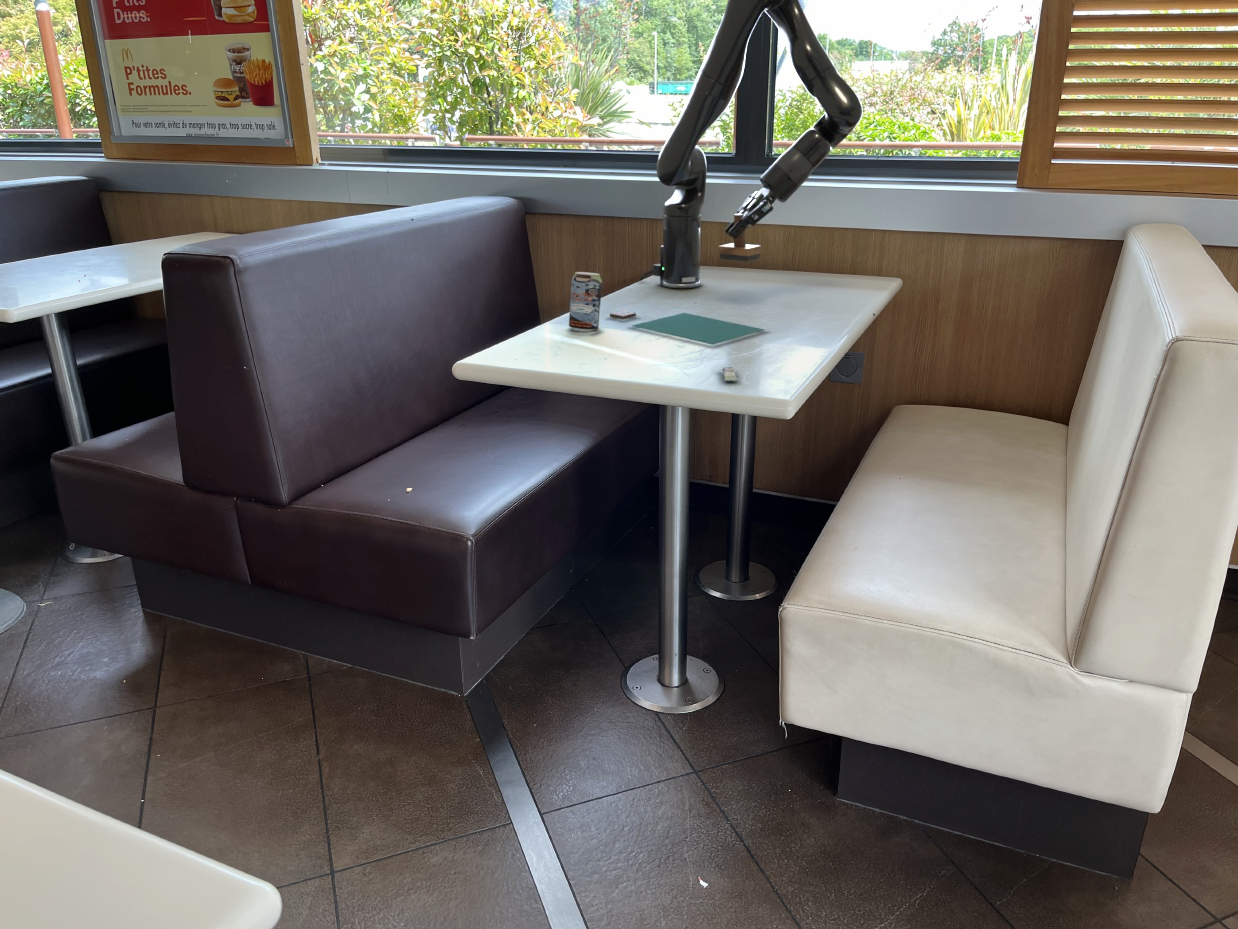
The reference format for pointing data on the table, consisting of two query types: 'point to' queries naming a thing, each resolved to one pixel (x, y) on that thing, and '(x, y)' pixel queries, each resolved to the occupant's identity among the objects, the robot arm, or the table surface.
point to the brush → (739, 247)
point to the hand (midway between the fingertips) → (729, 234)
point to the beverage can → (585, 301)
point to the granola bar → (729, 374)
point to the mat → (698, 328)
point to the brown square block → (622, 314)
